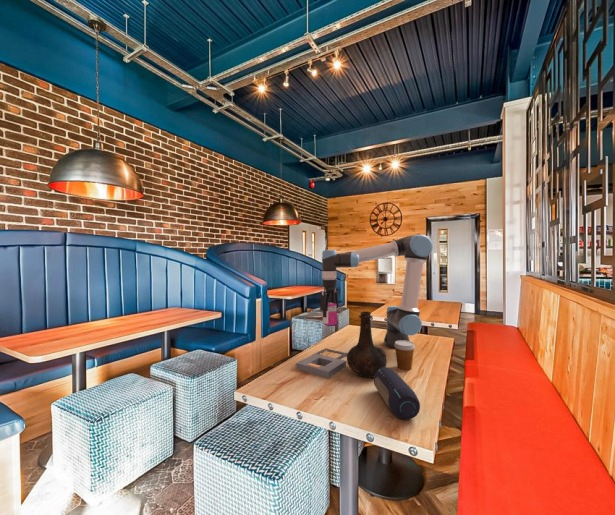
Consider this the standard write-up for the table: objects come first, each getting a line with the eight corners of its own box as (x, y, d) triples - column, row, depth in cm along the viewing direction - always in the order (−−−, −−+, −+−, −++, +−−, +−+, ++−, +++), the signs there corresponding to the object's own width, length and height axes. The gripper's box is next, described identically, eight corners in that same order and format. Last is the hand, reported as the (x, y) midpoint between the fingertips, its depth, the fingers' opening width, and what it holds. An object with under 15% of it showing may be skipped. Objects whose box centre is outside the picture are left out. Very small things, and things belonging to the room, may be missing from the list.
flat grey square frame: (348, 354, 161) (348, 353, 161) (334, 362, 149) (334, 361, 149) (325, 349, 170) (325, 348, 170) (310, 356, 158) (310, 355, 158)
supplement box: (322, 324, 161) (322, 303, 160) (332, 323, 163) (331, 302, 163) (327, 326, 155) (327, 304, 155) (337, 325, 158) (337, 303, 157)
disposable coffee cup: (396, 362, 148) (396, 338, 148) (416, 366, 143) (416, 341, 143) (391, 369, 140) (391, 344, 140) (412, 373, 135) (412, 347, 135)
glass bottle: (382, 384, 124) (382, 318, 124) (341, 377, 132) (341, 314, 131) (389, 369, 140) (389, 310, 140) (352, 363, 148) (352, 307, 147)
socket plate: (346, 367, 143) (346, 360, 143) (328, 378, 130) (328, 371, 130) (315, 359, 154) (315, 352, 154) (296, 369, 141) (296, 362, 141)
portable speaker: (370, 389, 121) (370, 364, 120) (395, 388, 121) (395, 363, 121) (393, 425, 96) (393, 394, 95) (423, 423, 96) (423, 392, 96)
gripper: (333, 277, 169) (333, 317, 170) (312, 280, 153) (313, 324, 153) (345, 277, 165) (345, 318, 165) (324, 281, 148) (325, 326, 149)
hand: (329, 321), depth 159 cm, fingers closed on supplement box, 8 cm apart
